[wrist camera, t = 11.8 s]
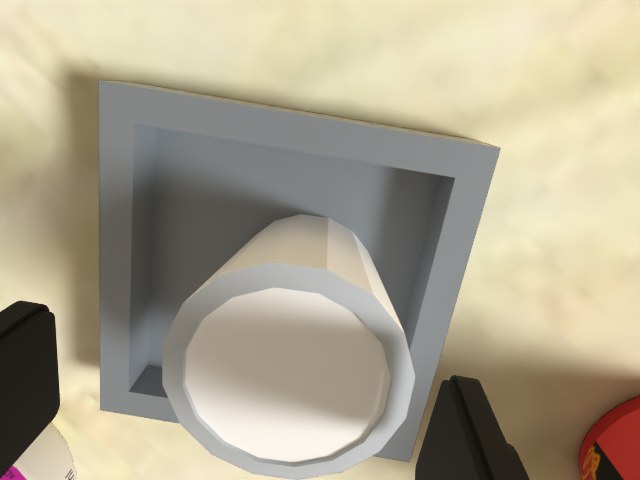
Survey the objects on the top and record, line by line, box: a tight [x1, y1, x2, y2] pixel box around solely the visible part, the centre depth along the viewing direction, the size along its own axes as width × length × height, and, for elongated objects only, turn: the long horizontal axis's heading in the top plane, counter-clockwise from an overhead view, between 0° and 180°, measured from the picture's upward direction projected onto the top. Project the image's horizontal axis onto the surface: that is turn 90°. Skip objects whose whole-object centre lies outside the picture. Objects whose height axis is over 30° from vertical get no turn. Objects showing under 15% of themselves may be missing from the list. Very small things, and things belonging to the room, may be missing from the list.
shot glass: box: [162, 214, 415, 480], centre depth 15 cm, size 7×7×7 cm
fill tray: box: [99, 80, 501, 462], centre depth 18 cm, size 13×13×2 cm
